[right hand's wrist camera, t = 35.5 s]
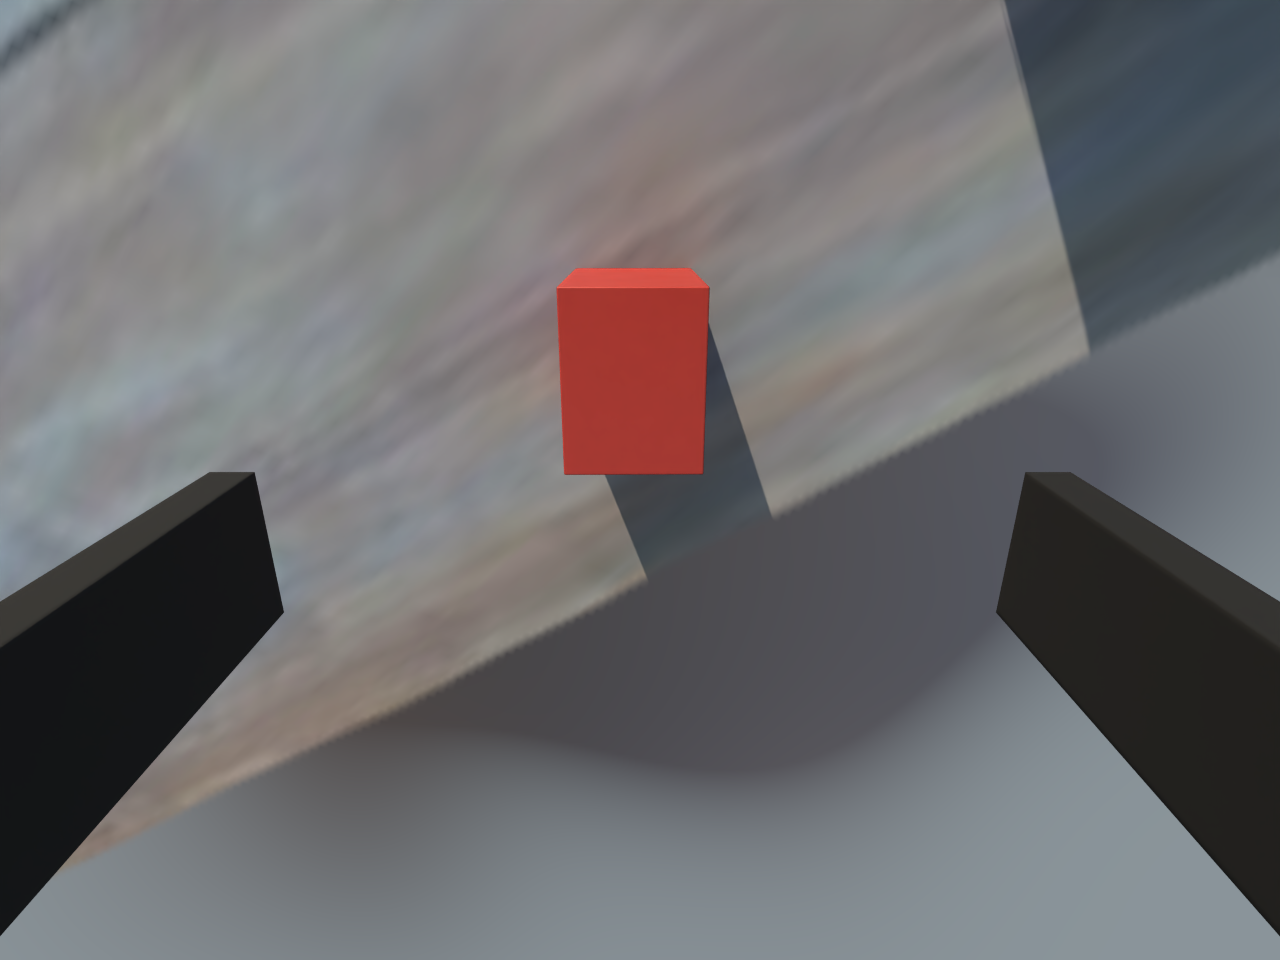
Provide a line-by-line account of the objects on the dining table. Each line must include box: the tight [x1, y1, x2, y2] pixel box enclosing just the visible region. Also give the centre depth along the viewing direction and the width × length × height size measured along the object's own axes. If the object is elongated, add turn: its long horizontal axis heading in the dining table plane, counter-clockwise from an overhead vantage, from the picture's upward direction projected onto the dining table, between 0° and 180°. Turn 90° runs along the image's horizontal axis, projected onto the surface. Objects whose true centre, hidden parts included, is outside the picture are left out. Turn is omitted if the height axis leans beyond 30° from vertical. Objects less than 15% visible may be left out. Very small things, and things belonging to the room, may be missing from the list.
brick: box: [557, 268, 710, 475], centre depth 28 cm, size 6×5×8 cm
